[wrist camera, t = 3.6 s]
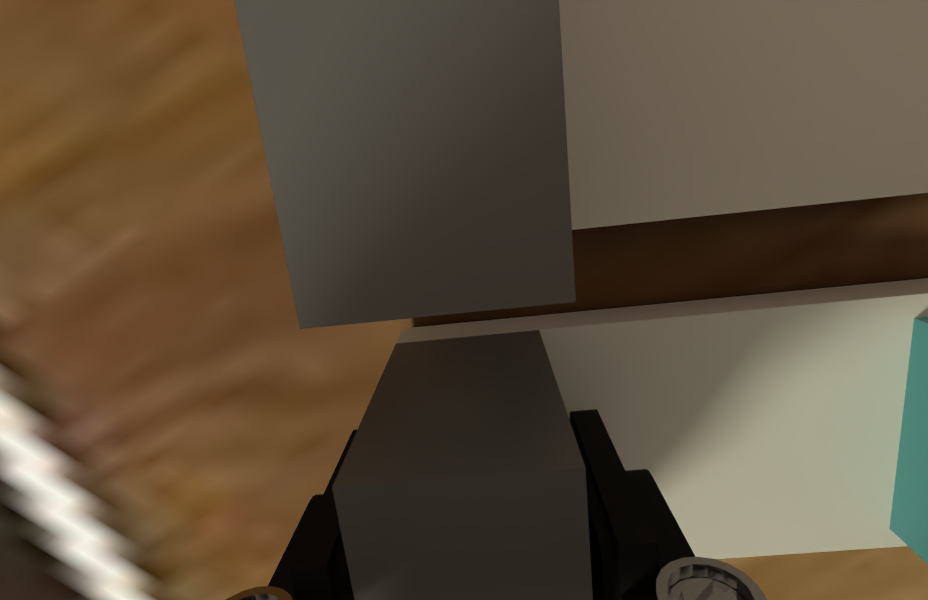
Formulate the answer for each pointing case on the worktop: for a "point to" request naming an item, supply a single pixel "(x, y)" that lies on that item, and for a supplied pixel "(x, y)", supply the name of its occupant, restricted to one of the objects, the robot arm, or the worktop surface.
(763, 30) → the empty strip
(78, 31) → the worktop surface
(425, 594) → the strip with cube
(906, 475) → the cube
